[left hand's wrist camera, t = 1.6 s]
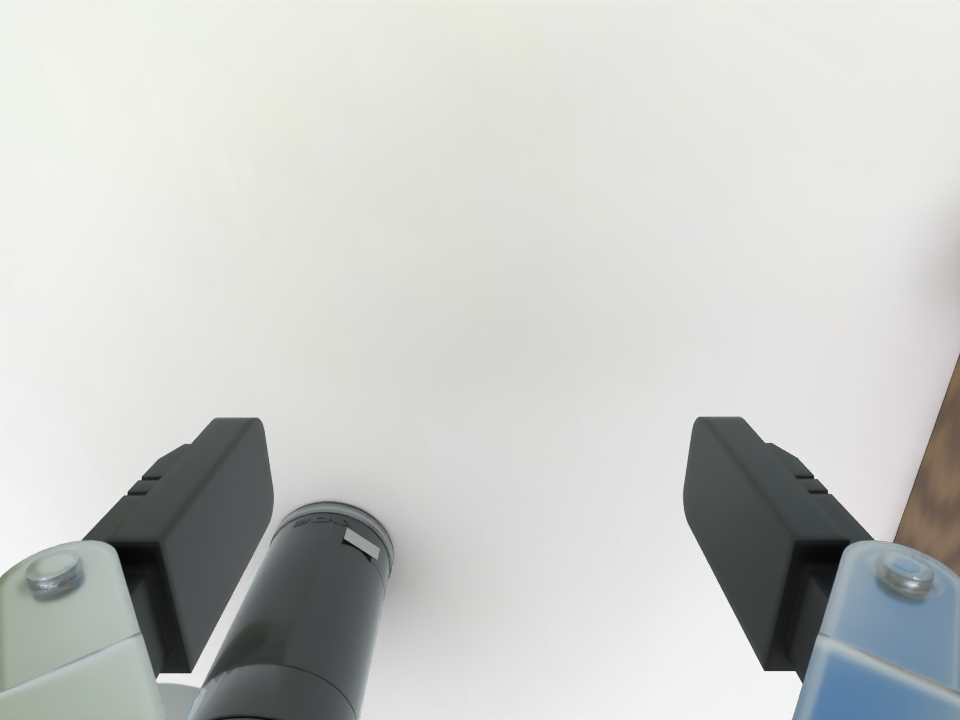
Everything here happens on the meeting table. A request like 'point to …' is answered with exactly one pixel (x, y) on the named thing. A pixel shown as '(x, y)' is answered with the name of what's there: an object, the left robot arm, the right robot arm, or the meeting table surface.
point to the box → (938, 489)
